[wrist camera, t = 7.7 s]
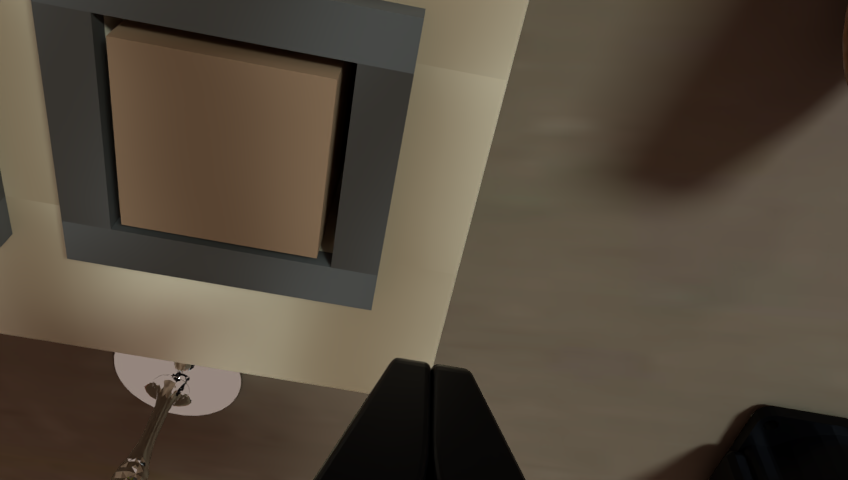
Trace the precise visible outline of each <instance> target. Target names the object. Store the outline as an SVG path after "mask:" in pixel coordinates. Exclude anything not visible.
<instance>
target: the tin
mask: <svg viewBox="0 0 848 480" xmlns="http://www.w3.org/2000/svg"><path fill="white" fill-rule="evenodd" d="M842 48H843V68H844V73H845V78H846V81H847V85H848V5H847V9H846V15H845V22H844V30H843V43H842Z"/></svg>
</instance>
